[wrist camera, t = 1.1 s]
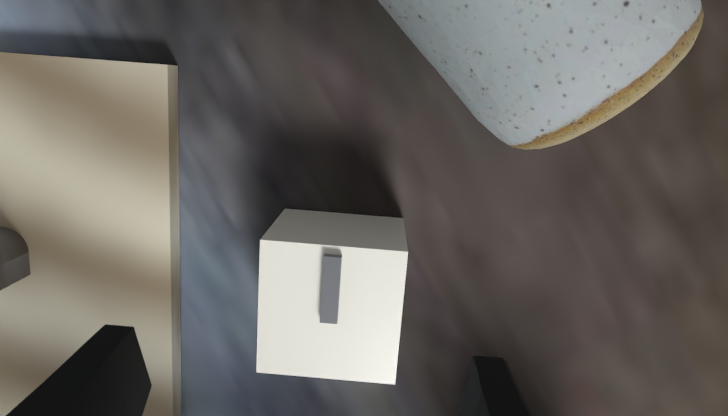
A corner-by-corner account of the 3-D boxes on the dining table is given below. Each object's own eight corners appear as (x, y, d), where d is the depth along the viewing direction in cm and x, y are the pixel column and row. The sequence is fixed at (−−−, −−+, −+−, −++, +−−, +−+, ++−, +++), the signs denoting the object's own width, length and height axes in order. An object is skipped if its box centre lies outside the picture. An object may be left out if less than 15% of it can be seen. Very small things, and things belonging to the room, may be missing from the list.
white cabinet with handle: (392, 326, 23) (395, 389, 18) (280, 317, 23) (254, 376, 18) (403, 218, 22) (408, 254, 17) (284, 208, 22) (257, 242, 17)
